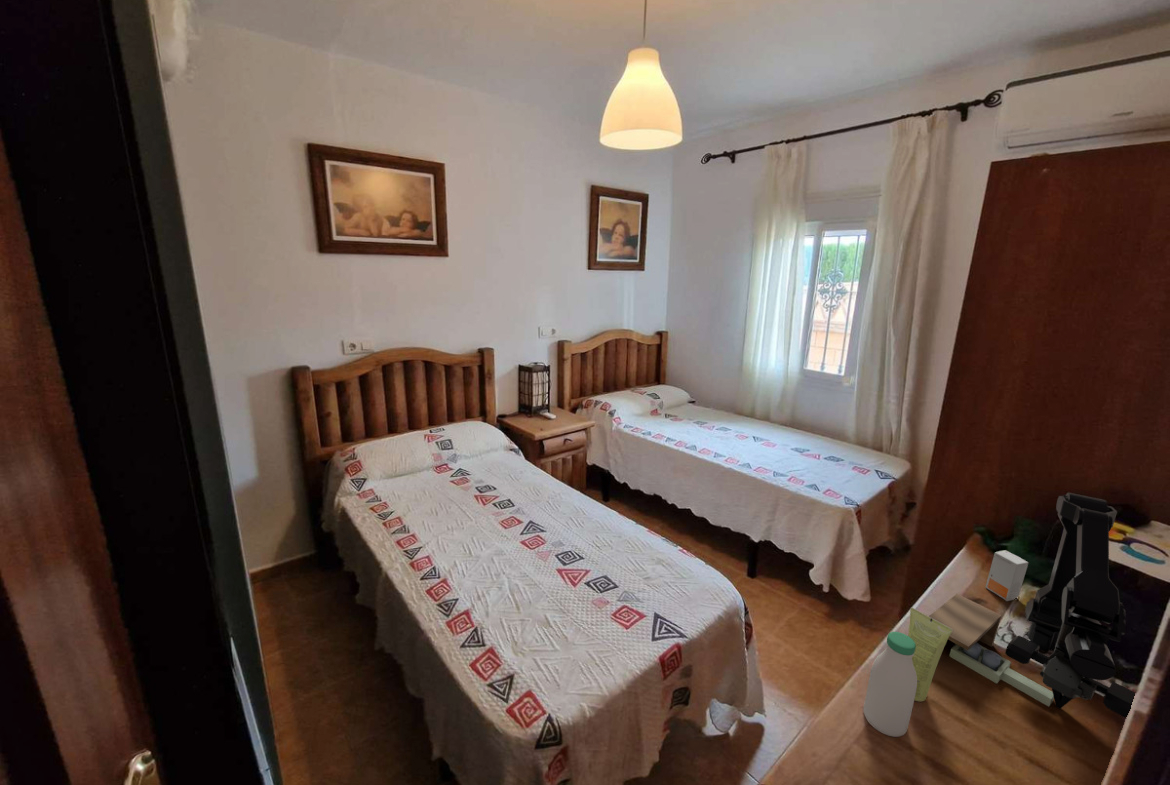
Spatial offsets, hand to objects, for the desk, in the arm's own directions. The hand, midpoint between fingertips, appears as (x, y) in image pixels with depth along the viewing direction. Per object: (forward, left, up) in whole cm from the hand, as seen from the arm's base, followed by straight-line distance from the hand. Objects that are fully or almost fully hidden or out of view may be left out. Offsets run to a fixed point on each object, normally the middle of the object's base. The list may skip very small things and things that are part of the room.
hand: (1058, 706), depth 98 cm
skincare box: (-36, -21, -1) cm, 41 cm away
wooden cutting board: (0, -18, -1) cm, 19 cm away
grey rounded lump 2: (0, -12, 0) cm, 12 cm away
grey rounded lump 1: (0, -15, 0) cm, 15 cm away
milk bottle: (+33, -18, -1) cm, 37 cm away
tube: (+21, -18, -1) cm, 28 cm away
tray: (0, -10, -1) cm, 10 cm away
